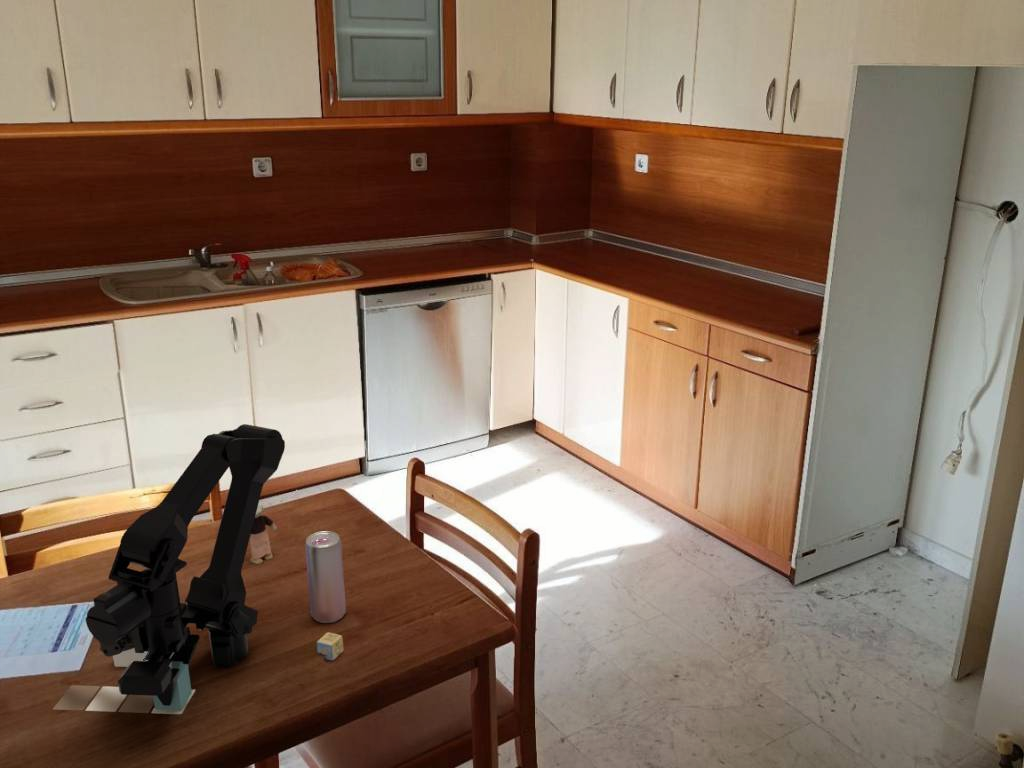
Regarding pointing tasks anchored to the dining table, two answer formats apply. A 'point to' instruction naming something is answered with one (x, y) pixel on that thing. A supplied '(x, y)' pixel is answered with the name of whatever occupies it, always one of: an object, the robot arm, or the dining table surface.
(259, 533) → the grandmother figurine
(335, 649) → the alphabet block
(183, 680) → the teal rectangular block
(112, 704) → the game strip
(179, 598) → the robot arm
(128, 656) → the die
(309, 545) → the beverage can
